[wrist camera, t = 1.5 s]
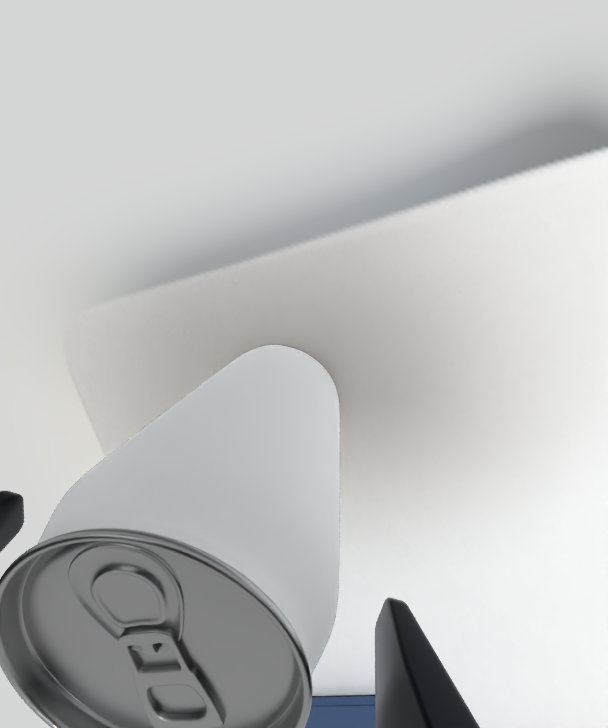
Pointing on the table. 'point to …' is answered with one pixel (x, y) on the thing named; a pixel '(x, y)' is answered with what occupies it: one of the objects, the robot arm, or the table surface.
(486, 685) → the table surface
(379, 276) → the table surface
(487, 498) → the table surface
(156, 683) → the can
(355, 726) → the bin
